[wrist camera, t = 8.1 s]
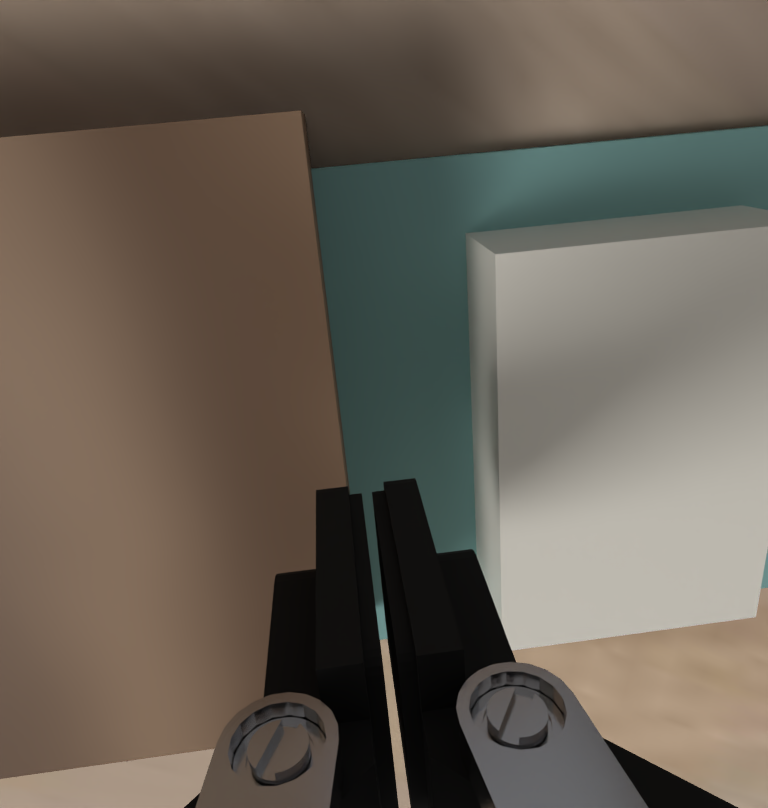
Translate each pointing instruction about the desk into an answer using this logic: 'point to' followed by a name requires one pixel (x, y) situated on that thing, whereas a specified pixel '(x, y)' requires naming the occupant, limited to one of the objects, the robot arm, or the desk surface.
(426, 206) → the mat
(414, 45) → the desk surface
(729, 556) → the white rectangular block
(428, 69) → the desk surface
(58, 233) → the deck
